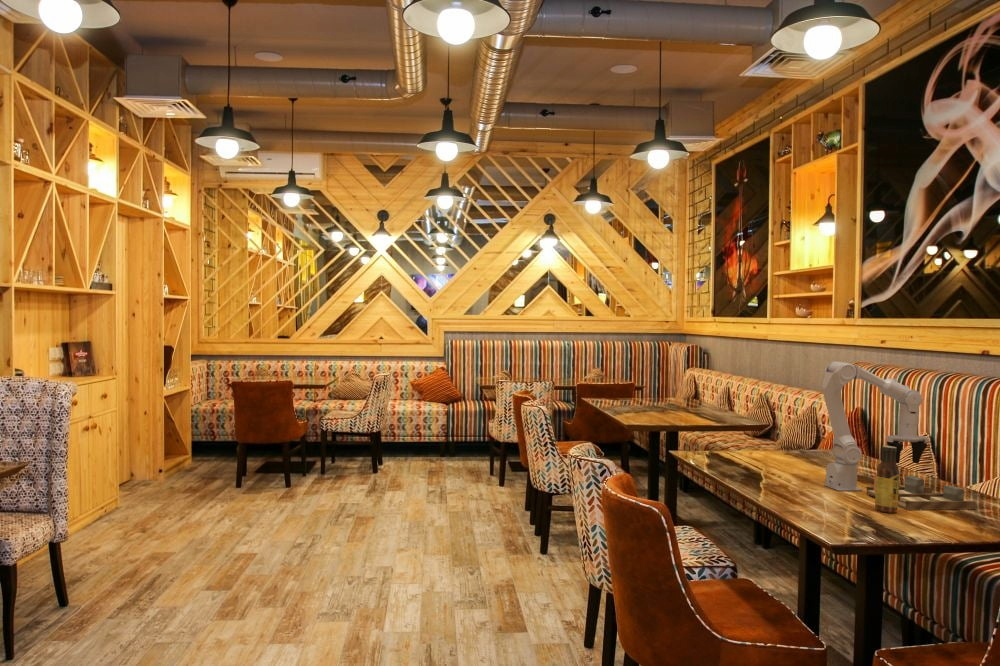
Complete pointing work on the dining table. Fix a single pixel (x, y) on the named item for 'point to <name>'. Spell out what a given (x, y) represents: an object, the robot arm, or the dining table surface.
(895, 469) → the sauce bottle
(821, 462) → the dining table surface
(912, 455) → the robot arm
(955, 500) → the lane board
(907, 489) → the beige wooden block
